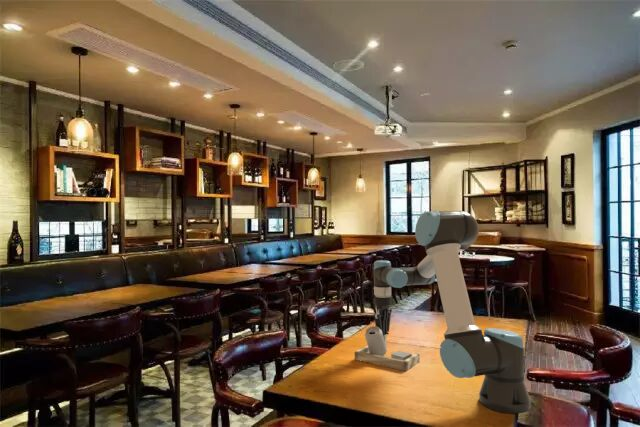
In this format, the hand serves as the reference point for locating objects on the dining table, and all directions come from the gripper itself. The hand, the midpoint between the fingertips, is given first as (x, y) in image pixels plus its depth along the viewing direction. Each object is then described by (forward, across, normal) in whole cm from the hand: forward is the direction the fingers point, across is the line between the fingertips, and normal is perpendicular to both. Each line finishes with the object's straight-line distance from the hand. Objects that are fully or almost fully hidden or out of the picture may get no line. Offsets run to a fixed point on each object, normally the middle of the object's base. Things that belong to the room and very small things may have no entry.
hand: (383, 349), depth 188 cm
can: (+1, +4, 0) cm, 4 cm away
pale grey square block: (+2, +6, +12) cm, 13 cm away
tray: (+2, +7, +6) cm, 9 cm away
